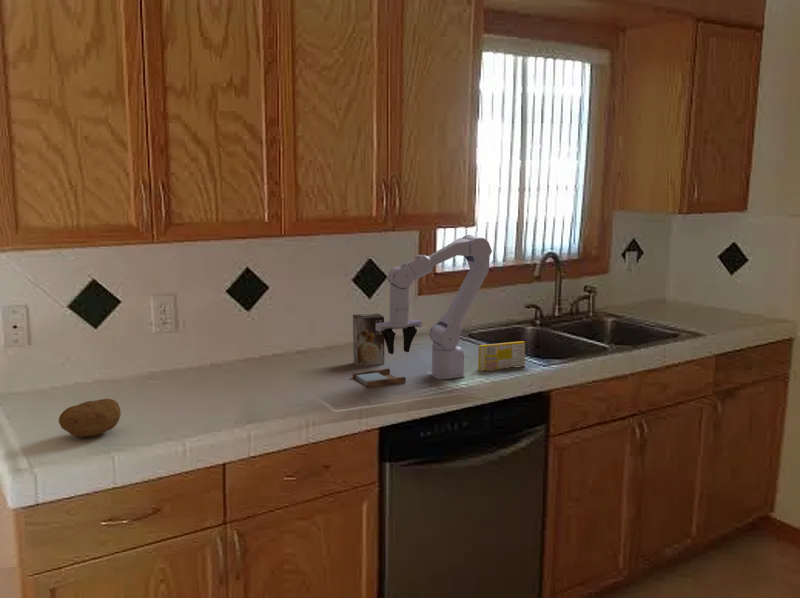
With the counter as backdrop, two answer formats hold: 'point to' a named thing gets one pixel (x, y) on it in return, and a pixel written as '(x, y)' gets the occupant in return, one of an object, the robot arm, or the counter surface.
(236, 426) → the counter surface
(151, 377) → the counter surface
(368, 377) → the cover plate
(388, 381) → the tray
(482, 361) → the candy box
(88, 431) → the potato
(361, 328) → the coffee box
